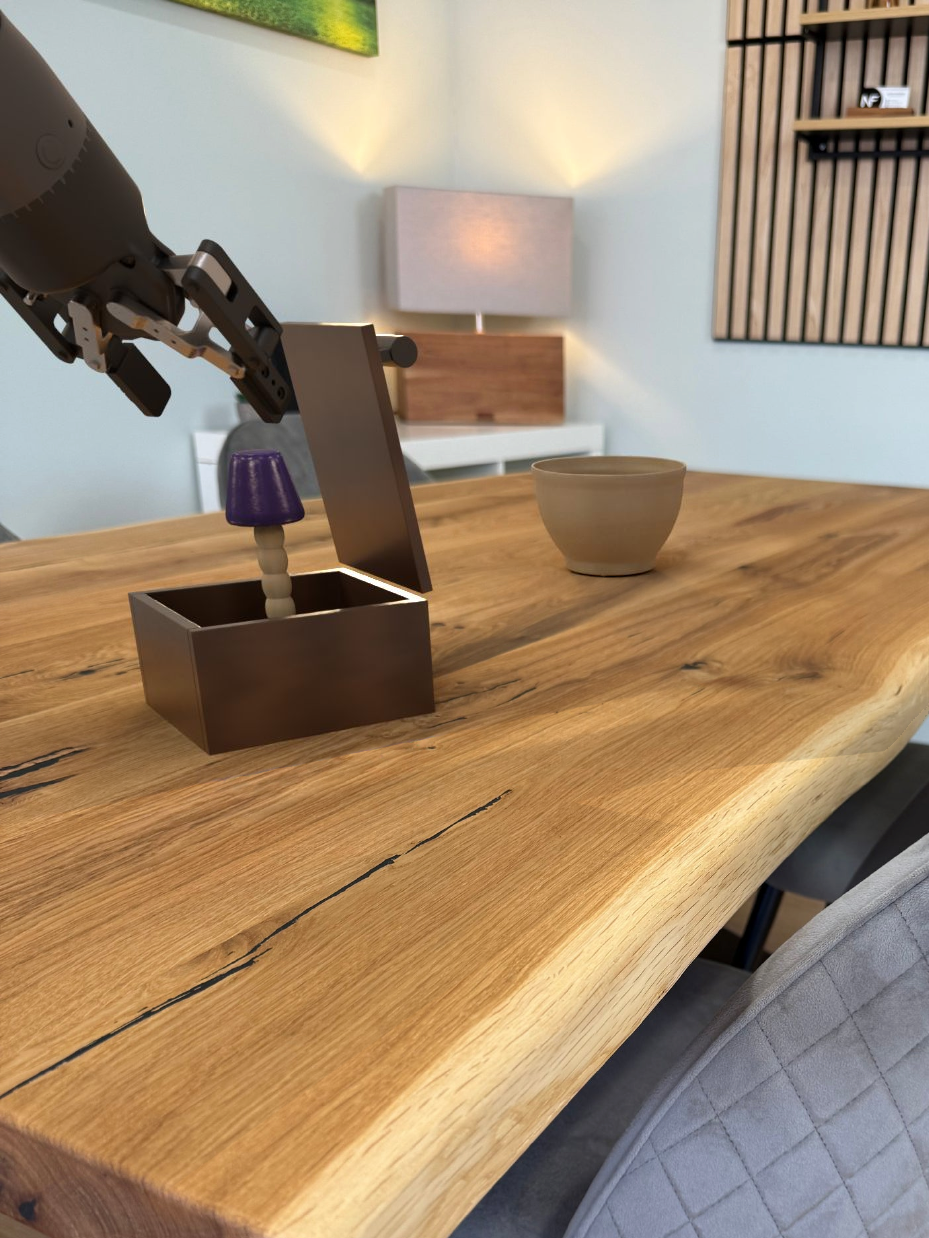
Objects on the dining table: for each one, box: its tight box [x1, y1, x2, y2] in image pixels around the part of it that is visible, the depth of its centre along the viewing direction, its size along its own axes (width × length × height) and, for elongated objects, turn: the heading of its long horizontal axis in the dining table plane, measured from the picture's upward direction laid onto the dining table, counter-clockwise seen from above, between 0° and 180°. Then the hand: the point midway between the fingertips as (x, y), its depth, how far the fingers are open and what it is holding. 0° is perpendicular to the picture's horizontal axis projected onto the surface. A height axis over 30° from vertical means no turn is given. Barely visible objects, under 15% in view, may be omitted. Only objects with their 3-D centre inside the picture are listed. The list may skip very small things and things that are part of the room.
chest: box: [127, 567, 436, 756], centre depth 77 cm, size 15×13×9 cm
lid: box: [279, 321, 434, 595], centre depth 76 cm, size 15×13×5 cm
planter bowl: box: [530, 454, 687, 577], centre depth 128 cm, size 16×16×11 cm
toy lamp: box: [224, 448, 306, 619], centre depth 75 cm, size 5×5×17 cm
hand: (219, 408), depth 69 cm, fingers open, 8 cm apart
